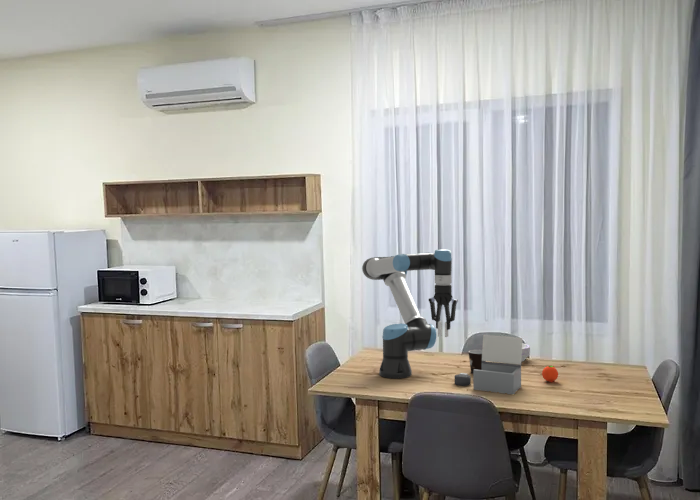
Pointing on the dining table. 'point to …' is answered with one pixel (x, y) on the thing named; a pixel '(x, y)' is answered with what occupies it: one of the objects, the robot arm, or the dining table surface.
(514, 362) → the lid
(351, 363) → the dining table surface
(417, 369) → the dining table surface
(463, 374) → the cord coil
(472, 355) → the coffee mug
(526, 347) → the paper bowls
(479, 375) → the grey box
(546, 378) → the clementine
